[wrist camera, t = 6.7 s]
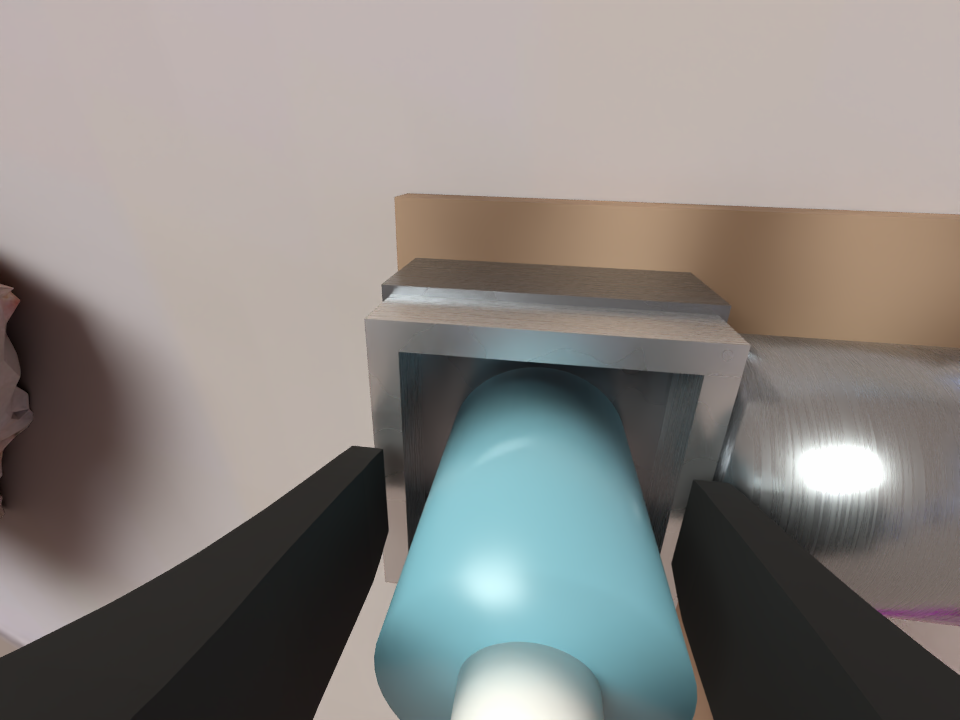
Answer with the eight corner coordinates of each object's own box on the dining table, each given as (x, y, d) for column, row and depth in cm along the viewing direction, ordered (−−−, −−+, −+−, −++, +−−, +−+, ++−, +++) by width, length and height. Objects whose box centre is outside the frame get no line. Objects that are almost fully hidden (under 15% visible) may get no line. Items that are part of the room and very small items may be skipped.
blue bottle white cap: (659, 412, 10) (820, 770, 4) (574, 535, 12) (602, 917, 6) (492, 338, 10) (411, 602, 4) (429, 473, 12) (307, 802, 6)
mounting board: (1013, 216, 11) (1063, 223, 10) (776, 715, 19) (790, 748, 18) (407, 193, 13) (394, 197, 12) (424, 662, 21) (417, 690, 20)
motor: (1013, 290, 11) (1432, 410, 6) (896, 522, 14) (1103, 741, 9) (415, 257, 12) (323, 330, 7) (422, 472, 15) (359, 633, 10)
